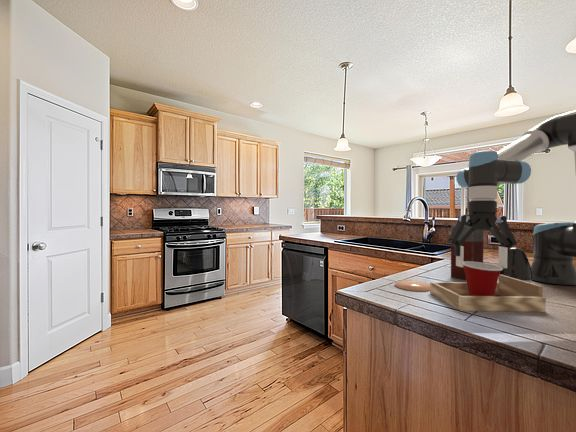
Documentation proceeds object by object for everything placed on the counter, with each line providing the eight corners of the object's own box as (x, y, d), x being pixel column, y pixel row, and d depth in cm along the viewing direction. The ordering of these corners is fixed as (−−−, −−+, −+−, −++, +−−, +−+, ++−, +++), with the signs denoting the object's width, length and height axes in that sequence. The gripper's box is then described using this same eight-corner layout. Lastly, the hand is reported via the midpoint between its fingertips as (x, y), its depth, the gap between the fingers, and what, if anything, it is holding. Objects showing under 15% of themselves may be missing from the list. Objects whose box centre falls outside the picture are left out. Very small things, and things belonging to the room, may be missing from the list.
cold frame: (499, 293, 98) (499, 274, 98) (545, 311, 80) (545, 287, 80) (430, 293, 99) (430, 273, 99) (460, 310, 81) (460, 286, 81)
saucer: (422, 282, 114) (422, 280, 114) (439, 291, 101) (439, 288, 101) (390, 282, 114) (390, 280, 114) (403, 291, 101) (403, 288, 101)
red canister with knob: (486, 279, 120) (486, 214, 120) (472, 283, 114) (473, 214, 114) (463, 276, 127) (464, 214, 127) (450, 278, 121) (450, 214, 121)
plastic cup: (494, 309, 82) (494, 268, 82) (455, 300, 91) (455, 263, 91) (509, 303, 88) (509, 264, 88) (471, 294, 97) (471, 260, 97)
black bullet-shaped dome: (526, 284, 112) (527, 246, 111) (536, 291, 102) (537, 249, 102) (495, 282, 116) (495, 245, 116) (502, 288, 106) (502, 248, 106)
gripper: (512, 201, 93) (511, 265, 93) (436, 200, 93) (435, 264, 93) (532, 200, 85) (530, 270, 85) (449, 199, 86) (448, 268, 86)
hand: (481, 267), depth 89 cm, fingers open, 13 cm apart
